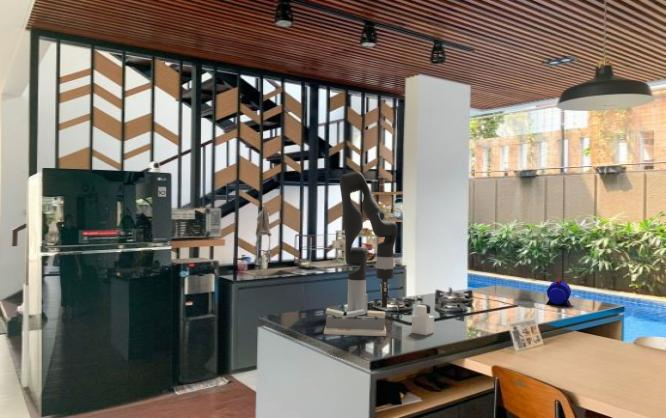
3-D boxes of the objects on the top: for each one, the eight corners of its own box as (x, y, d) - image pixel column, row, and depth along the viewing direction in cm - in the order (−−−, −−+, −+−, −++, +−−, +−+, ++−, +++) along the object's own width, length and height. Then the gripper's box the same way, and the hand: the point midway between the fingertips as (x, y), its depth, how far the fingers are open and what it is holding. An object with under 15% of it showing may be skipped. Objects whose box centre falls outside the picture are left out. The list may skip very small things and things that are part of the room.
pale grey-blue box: (364, 314, 225) (363, 308, 225) (364, 316, 220) (363, 311, 220) (347, 317, 225) (346, 312, 226) (347, 319, 220) (346, 314, 221)
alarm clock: (571, 304, 298) (571, 278, 298) (568, 307, 287) (568, 280, 287) (548, 302, 304) (549, 276, 304) (545, 305, 294) (545, 279, 294)
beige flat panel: (384, 317, 224) (385, 311, 224) (385, 319, 219) (385, 314, 219) (367, 315, 225) (367, 310, 225) (367, 318, 220) (367, 312, 220)
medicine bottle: (419, 330, 226) (420, 302, 226) (434, 332, 221) (434, 304, 221) (411, 332, 220) (411, 304, 220) (426, 335, 216) (426, 307, 216)
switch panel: (385, 329, 226) (385, 316, 226) (386, 336, 213) (386, 322, 213) (326, 327, 228) (326, 314, 228) (323, 334, 215) (324, 321, 215)
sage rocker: (342, 317, 226) (343, 311, 226) (342, 319, 221) (343, 314, 221) (325, 313, 226) (327, 308, 226) (325, 315, 221) (326, 310, 221)
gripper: (375, 265, 229) (375, 304, 229) (376, 268, 216) (376, 310, 216) (392, 265, 229) (392, 304, 229) (394, 269, 215) (394, 310, 215)
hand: (384, 307), depth 222 cm, fingers closed
